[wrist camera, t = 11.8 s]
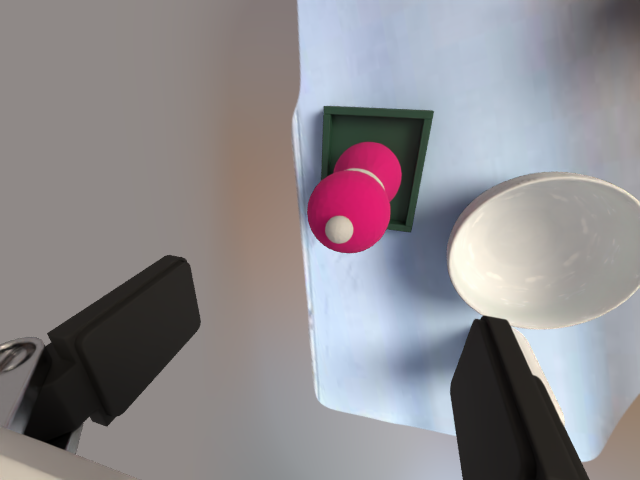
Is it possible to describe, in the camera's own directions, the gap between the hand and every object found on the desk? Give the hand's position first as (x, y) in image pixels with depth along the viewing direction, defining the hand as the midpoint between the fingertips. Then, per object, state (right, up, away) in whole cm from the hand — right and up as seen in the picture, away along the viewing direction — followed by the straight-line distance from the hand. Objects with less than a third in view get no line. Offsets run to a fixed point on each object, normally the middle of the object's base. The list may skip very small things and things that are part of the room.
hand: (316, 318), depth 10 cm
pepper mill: (+6, +11, +26) cm, 29 cm away
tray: (+6, +11, +26) cm, 29 cm away
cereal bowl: (+24, +3, +25) cm, 35 cm away
